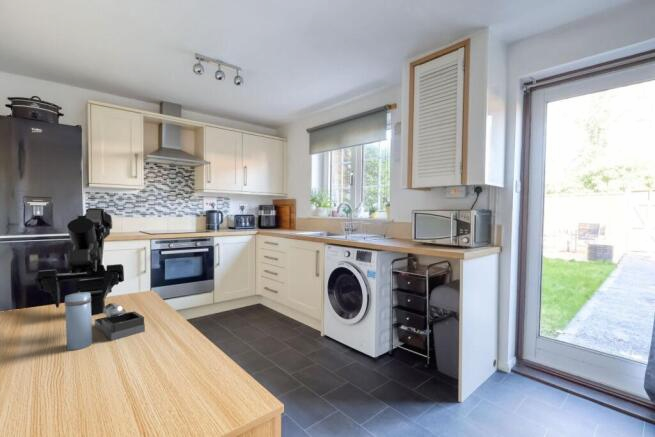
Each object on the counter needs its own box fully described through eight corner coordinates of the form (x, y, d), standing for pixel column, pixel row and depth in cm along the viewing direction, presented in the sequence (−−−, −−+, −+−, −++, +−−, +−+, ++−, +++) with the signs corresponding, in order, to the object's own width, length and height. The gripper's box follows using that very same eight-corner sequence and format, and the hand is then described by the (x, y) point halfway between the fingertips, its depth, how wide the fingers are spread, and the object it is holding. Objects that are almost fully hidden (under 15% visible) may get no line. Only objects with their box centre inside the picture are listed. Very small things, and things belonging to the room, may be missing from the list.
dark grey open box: (94, 326, 90) (94, 306, 90) (125, 318, 96) (125, 299, 96) (111, 340, 81) (110, 318, 80) (144, 331, 87) (144, 310, 86)
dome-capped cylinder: (64, 346, 77) (62, 295, 77) (89, 339, 81) (87, 290, 81) (69, 352, 74) (67, 299, 74) (95, 344, 78) (93, 294, 78)
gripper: (35, 240, 79) (23, 292, 70) (122, 236, 89) (121, 282, 80) (44, 265, 86) (34, 316, 77) (124, 259, 96) (123, 303, 87)
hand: (80, 303), depth 80 cm, fingers open, 9 cm apart
